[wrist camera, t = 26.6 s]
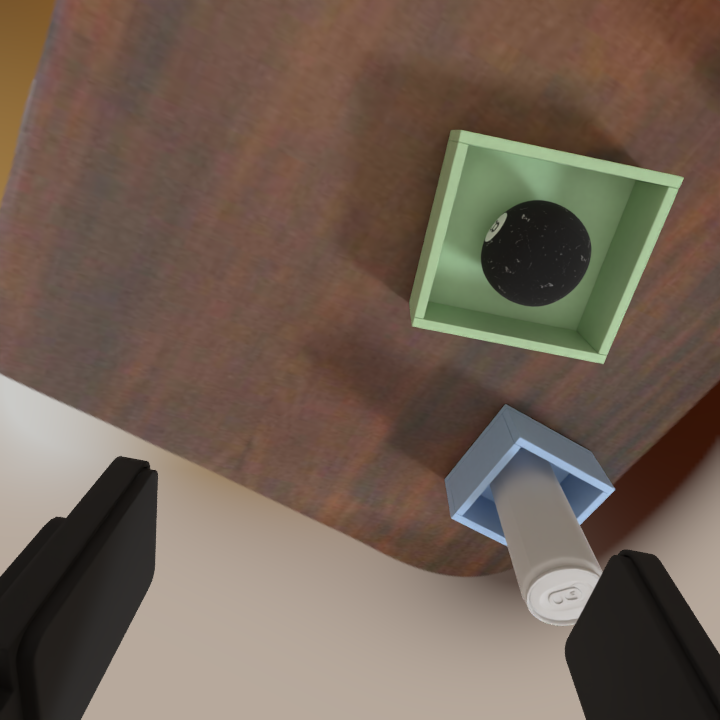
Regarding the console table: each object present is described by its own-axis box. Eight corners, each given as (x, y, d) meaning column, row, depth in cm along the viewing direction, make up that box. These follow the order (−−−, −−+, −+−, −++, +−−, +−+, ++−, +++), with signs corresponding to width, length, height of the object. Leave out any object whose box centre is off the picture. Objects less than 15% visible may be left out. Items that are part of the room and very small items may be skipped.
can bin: (505, 403, 38) (520, 436, 34) (591, 451, 40) (615, 489, 36) (444, 479, 42) (450, 518, 37) (526, 521, 43) (541, 563, 39)
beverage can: (557, 483, 40) (620, 614, 30) (498, 502, 41) (538, 636, 31) (538, 435, 39) (598, 556, 28) (477, 457, 40) (512, 581, 29)
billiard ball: (527, 305, 35) (553, 338, 29) (456, 257, 34) (469, 282, 28) (590, 230, 32) (631, 250, 27) (515, 175, 31) (543, 185, 26)
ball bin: (450, 129, 31) (461, 129, 27) (644, 170, 31) (684, 177, 27) (408, 303, 36) (411, 326, 31) (578, 337, 36) (603, 364, 32)
